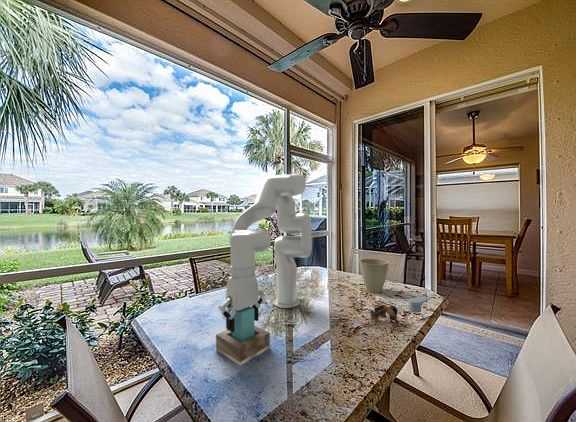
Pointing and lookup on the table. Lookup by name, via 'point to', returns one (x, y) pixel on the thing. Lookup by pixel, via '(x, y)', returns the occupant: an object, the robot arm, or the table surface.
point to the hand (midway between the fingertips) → (243, 324)
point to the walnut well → (242, 345)
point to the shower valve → (415, 304)
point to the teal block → (244, 324)
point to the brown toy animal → (382, 311)
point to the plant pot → (374, 273)
